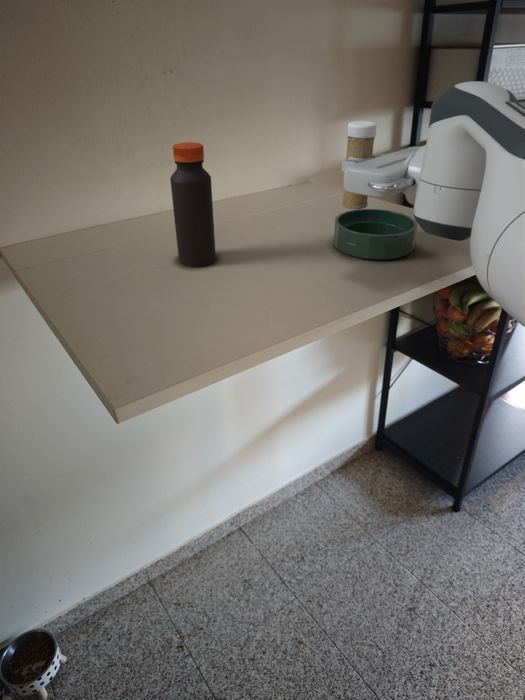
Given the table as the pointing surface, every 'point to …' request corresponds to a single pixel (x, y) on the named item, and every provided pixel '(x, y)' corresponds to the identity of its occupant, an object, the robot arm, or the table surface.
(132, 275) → the table surface
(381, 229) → the green faceted bowl
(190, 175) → the vinegar
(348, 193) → the sprinkles bottle
